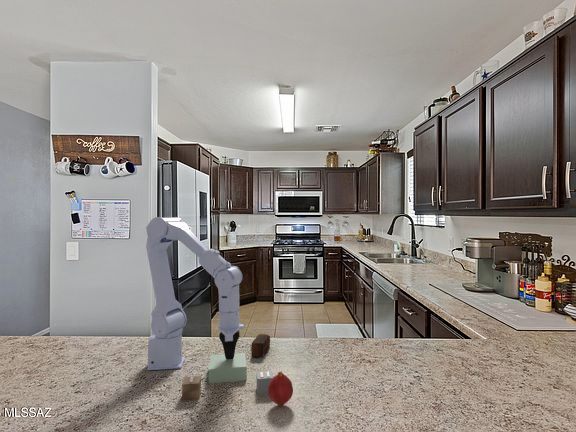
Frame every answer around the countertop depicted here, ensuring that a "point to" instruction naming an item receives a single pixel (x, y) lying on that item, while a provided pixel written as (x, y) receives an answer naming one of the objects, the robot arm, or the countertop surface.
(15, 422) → the countertop surface
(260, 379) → the slate numbered block
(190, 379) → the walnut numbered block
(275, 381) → the onion
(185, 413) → the countertop surface
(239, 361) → the sage block
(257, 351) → the brick
